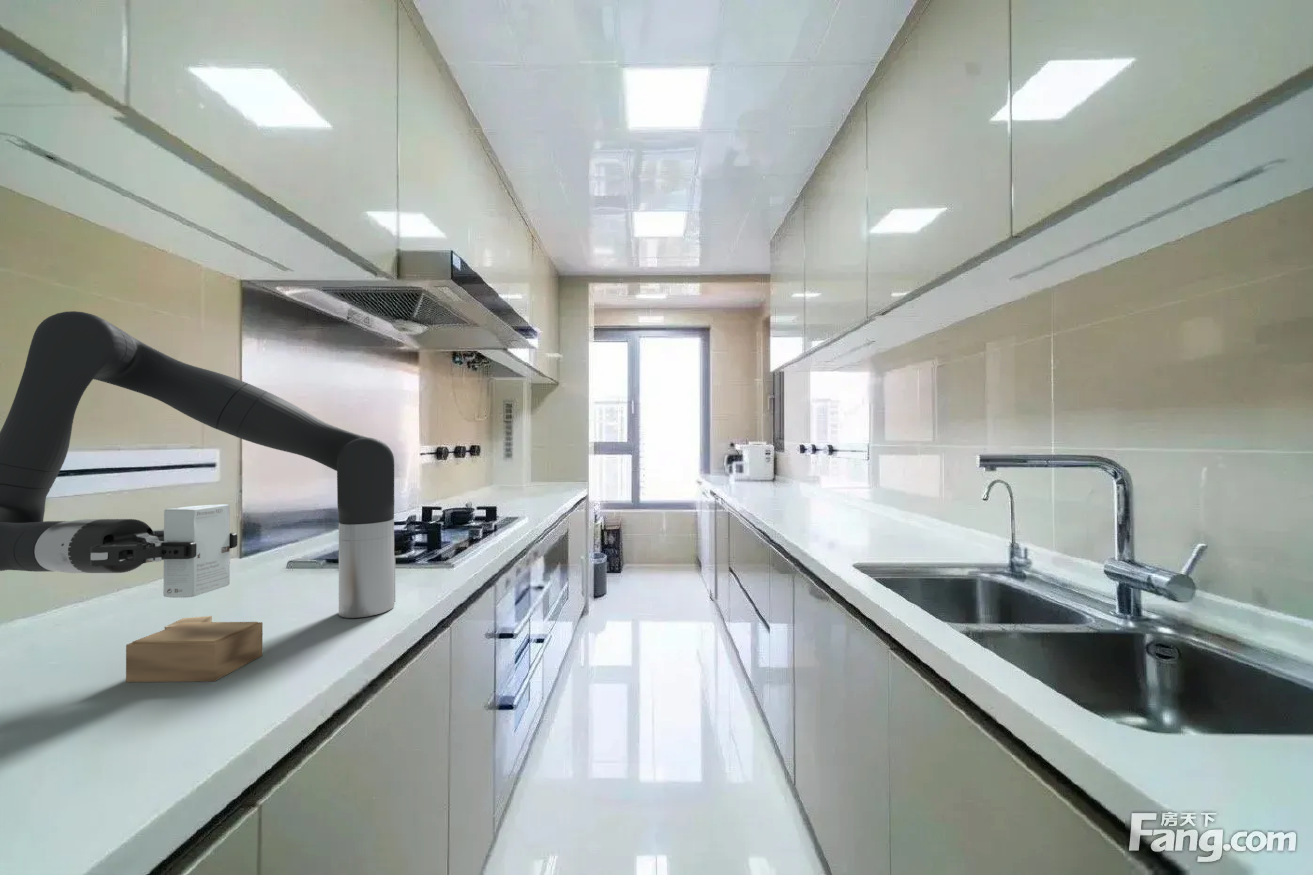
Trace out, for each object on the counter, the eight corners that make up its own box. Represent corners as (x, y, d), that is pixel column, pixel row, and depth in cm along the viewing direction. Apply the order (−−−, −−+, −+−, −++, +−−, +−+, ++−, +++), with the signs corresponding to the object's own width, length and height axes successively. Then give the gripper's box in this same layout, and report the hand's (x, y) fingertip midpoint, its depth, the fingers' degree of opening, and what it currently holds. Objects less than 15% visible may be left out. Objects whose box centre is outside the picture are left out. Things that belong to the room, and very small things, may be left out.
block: (182, 642, 79) (182, 618, 79) (211, 640, 80) (211, 615, 80) (164, 653, 76) (164, 627, 76) (195, 650, 76) (195, 624, 77)
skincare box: (193, 598, 67) (194, 509, 67) (160, 598, 66) (161, 509, 67) (232, 585, 73) (232, 503, 73) (201, 585, 73) (202, 503, 73)
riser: (183, 656, 74) (183, 621, 74) (262, 655, 74) (262, 620, 74) (126, 682, 66) (126, 642, 66) (214, 681, 66) (214, 642, 66)
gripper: (33, 528, 62) (166, 527, 63) (149, 512, 77) (256, 511, 77) (32, 587, 62) (165, 586, 62) (148, 560, 77) (256, 559, 77)
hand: (215, 545), depth 70 cm, fingers closed on skincare box, 6 cm apart
